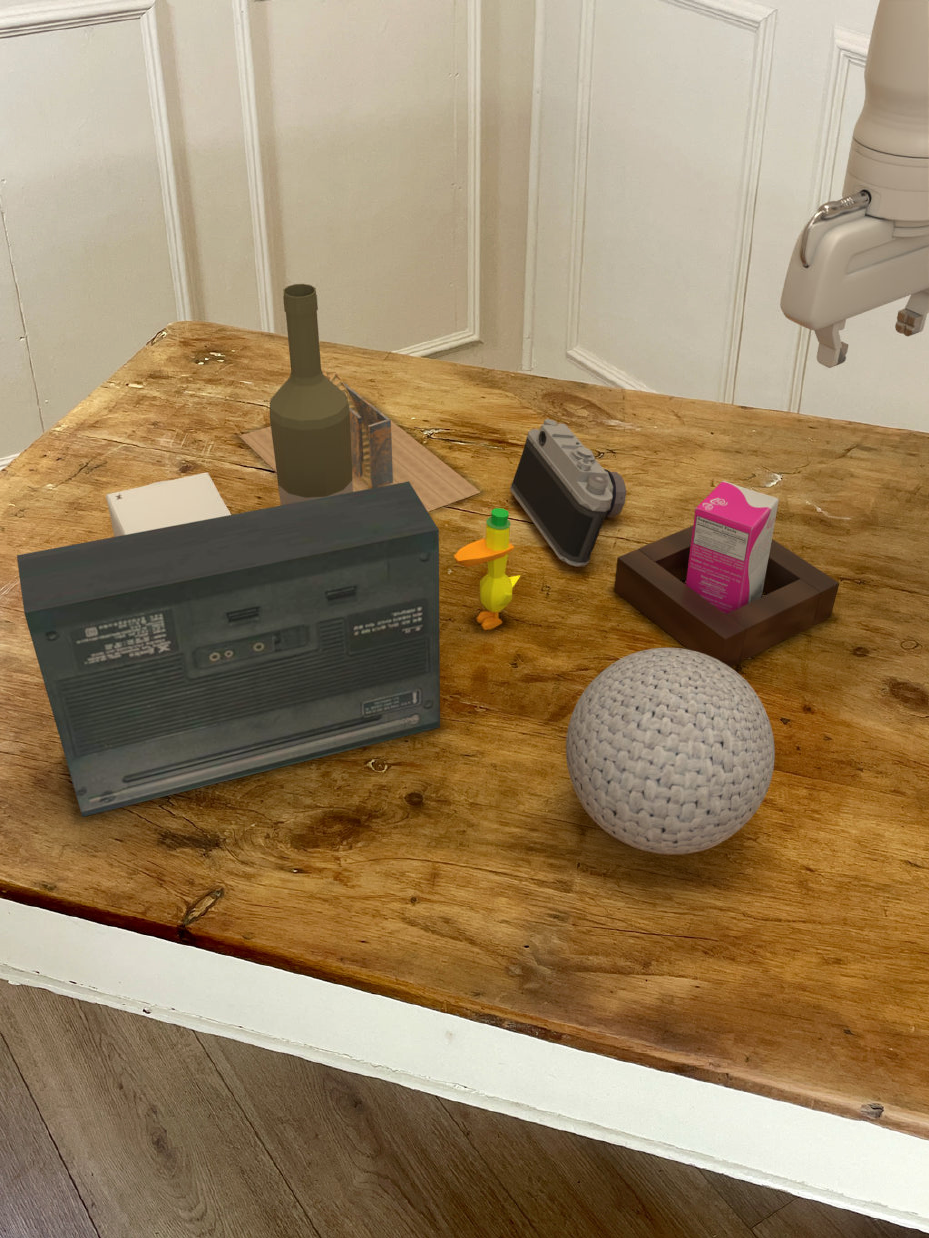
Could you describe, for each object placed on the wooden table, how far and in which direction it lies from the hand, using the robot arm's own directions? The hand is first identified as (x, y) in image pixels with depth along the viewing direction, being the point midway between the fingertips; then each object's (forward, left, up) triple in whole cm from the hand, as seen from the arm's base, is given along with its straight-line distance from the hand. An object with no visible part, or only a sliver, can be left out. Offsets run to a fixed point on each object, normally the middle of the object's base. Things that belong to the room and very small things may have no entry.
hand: (869, 347), depth 98 cm
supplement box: (+9, -4, -26) cm, 27 cm away
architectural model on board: (+24, -45, -26) cm, 57 cm away
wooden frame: (+8, -4, -26) cm, 27 cm away
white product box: (+52, -26, -26) cm, 64 cm away
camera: (+12, -22, -26) cm, 35 cm away
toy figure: (+28, -14, -26) cm, 41 cm away
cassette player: (+53, -11, -26) cm, 60 cm away
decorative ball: (+31, +13, -26) cm, 43 cm away
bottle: (+38, -27, -26) cm, 53 cm away
